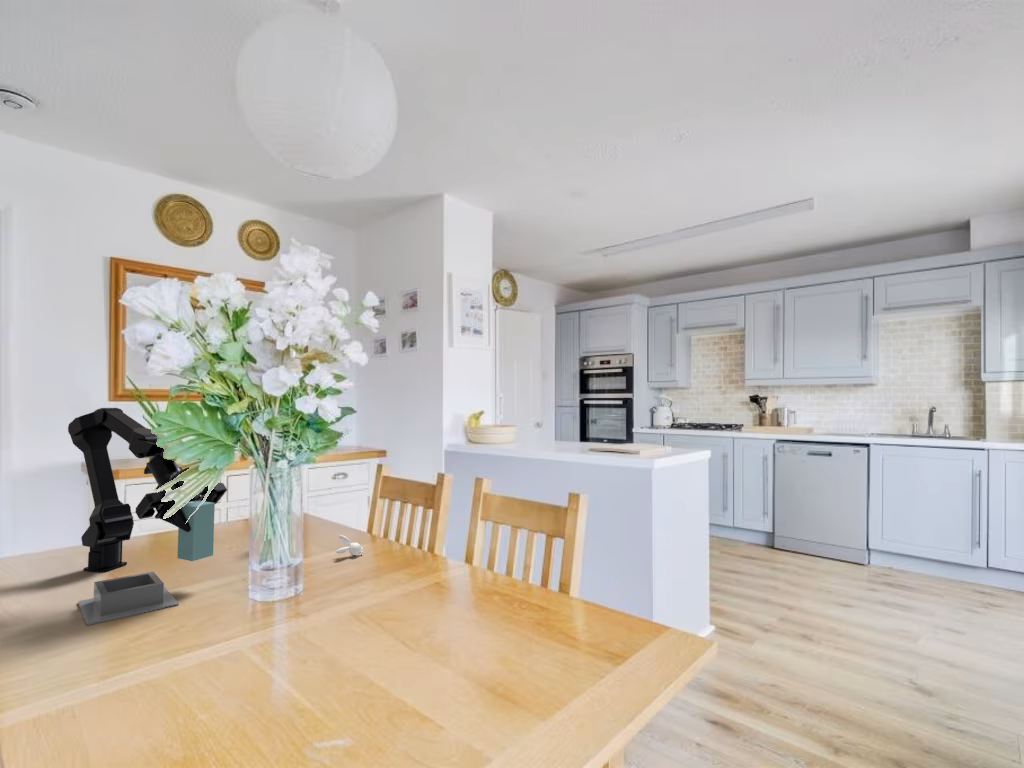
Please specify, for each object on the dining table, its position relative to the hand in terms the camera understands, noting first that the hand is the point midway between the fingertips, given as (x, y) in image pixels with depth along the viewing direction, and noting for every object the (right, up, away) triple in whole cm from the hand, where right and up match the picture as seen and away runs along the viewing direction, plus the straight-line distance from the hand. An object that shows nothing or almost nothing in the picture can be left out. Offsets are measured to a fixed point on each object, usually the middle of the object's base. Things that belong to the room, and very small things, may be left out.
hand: (200, 528), depth 121 cm
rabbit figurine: (+26, -15, +25) cm, 39 cm away
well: (-9, -13, -10) cm, 19 cm away
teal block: (-1, -7, 0) cm, 7 cm away
